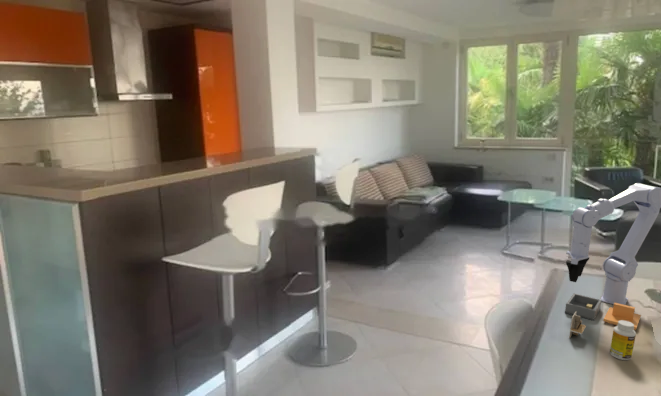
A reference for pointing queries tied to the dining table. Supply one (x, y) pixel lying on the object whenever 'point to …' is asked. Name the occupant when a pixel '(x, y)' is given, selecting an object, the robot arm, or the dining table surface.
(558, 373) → the dining table surface
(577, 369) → the dining table surface
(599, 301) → the tub
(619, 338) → the supplement bottle
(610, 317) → the lid
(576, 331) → the architectural model
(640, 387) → the dining table surface
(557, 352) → the dining table surface
